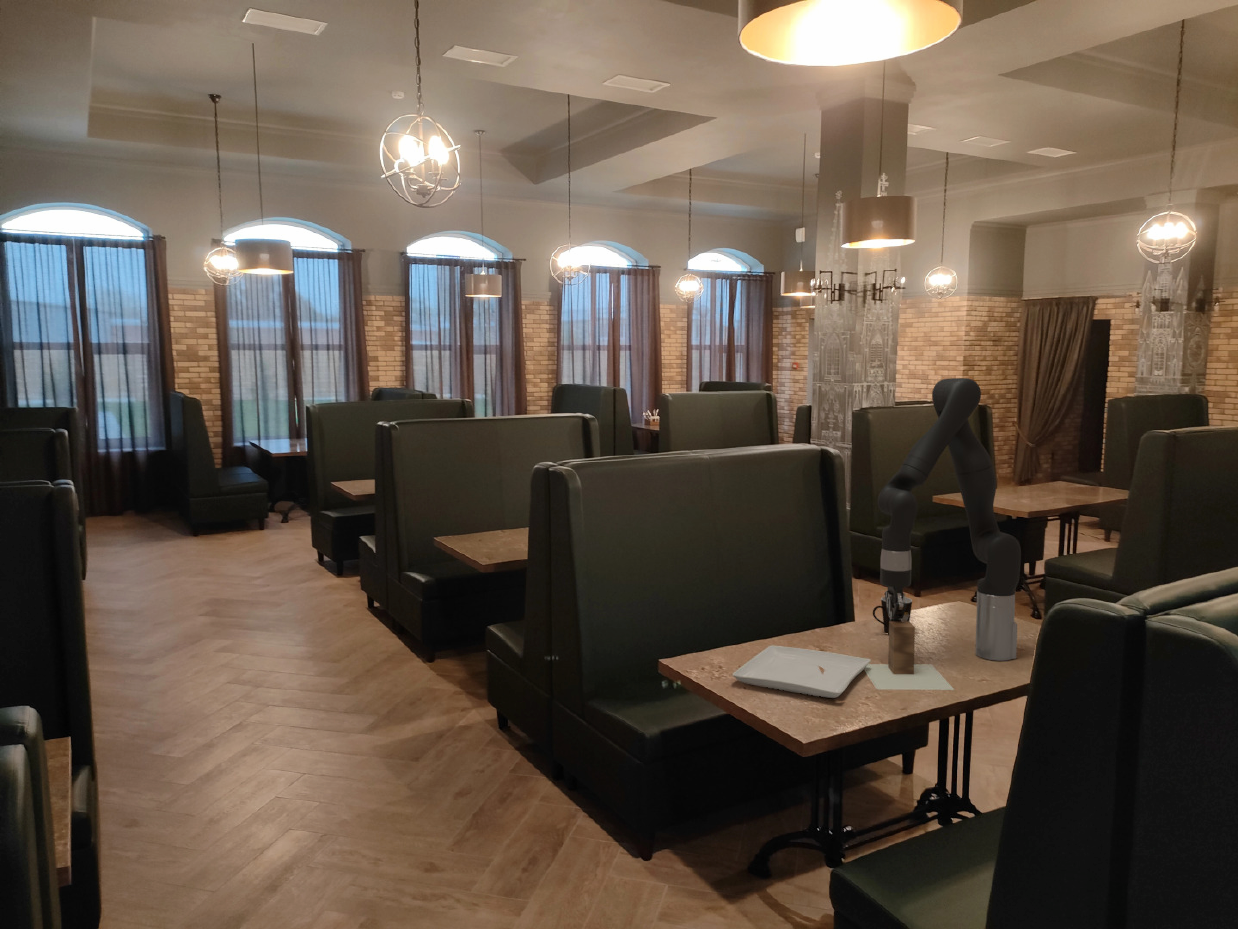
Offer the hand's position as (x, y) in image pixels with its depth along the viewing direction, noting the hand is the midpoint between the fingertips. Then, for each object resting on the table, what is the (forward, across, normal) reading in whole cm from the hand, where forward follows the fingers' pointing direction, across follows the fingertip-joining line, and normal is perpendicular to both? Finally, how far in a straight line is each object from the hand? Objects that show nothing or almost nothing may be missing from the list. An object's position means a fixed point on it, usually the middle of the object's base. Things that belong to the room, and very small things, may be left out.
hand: (894, 632), depth 223 cm
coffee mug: (+9, +28, -6) cm, 30 cm away
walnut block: (+8, -6, 0) cm, 10 cm away
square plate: (+9, -11, +25) cm, 28 cm away
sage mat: (+8, -10, 0) cm, 13 cm away
